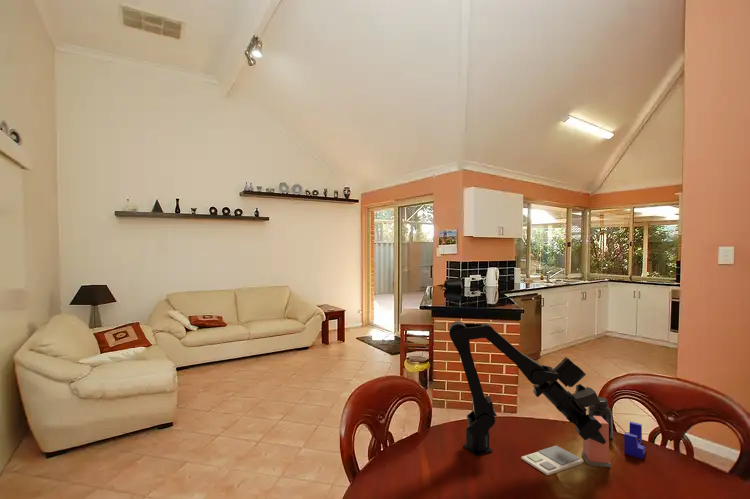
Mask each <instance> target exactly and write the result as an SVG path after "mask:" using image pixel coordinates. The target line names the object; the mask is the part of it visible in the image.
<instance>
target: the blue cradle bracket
mask: <svg viewBox="0 0 750 499" xmlns="http://www.w3.org/2000/svg"><path fill="white" fill-rule="evenodd" d="M642 426H643V424H641V423H639V422H638V423H637V422H634V421H629V430H628V431H629V432H624V433H623V437H624V438H623V441H624V442H623V443H624V455H628V456H631V457H635V458H638V459H641V460H644V458H645V456H646V455H645V454H646V446H644V445H643V431H642V430H643V428H642ZM637 439H640V440H637ZM641 440H642V442H641Z"/></svg>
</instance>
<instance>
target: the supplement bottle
mask: <svg viewBox="0 0 750 499" xmlns="http://www.w3.org/2000/svg"><path fill="white" fill-rule="evenodd" d="M598 398H599V400H600V403H599V404H594V405H592V406H589V407H587V414H588V415H592V416H601V417H602V418H603V419H604V420H605V421H606V422H607V423H608V424H609V440H611V439H612V438H613V434H614V432H613V430H614V429H613V412H612V410H611V408H610V407H609V401H608V398H605V397H603V396H602V397H601V396H598Z"/></svg>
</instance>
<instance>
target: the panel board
mask: <svg viewBox="0 0 750 499" xmlns="http://www.w3.org/2000/svg"><path fill="white" fill-rule="evenodd" d="M520 458H521V460H522V461H524V462H525V463H527V464H529V465H530V466H532V467H533V468H536V469H537V470H538V471H539V472H542V473H543V474H544V475H546V476H551V475H553V474H555V473H559V472H562V471H563V470H564V471H565V470H567V469H570V468H572V467H576V466H579V465H581V464H584V462H585V459H582V458H581V457H579V456H578V455H575V454H573V453H571V452H569V451H567V449H564V448H562V447H561V446H558V445H553V446H550V447H546V448H543V449H540V450H537V451H536V452H533V453H529V454H526V455H523V456H521V457H520Z"/></svg>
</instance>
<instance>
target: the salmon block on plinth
mask: <svg viewBox="0 0 750 499" xmlns="http://www.w3.org/2000/svg"><path fill="white" fill-rule="evenodd" d="M593 417H594V418H595V419H596V420H597V421H598V422H599V423H600V424H601V425H602V427H601V428H600V429H599V432H600V433H601V435H602V436H603V438H604V439H605V441H606V443H605V444H601V443H599V442H597V441H595V440H592V439H590V438H589V439H587V440H584V439H583V438H582V451H581V456H582V457H583V460H584V461H585V462H586V463H587V465H588V466H590V467H591V466H593V467H603V468H612V464H611V462H610V439H609V424H608V423H607V422H606V421H605V420H604V419H603V418H602V417H601V416H593Z"/></svg>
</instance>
